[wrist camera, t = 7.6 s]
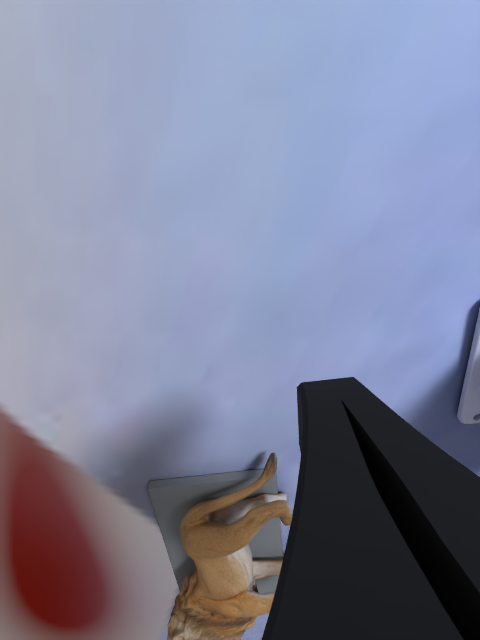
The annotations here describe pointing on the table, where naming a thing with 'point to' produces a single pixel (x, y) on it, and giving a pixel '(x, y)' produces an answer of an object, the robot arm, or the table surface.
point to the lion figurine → (226, 563)
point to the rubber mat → (266, 545)
